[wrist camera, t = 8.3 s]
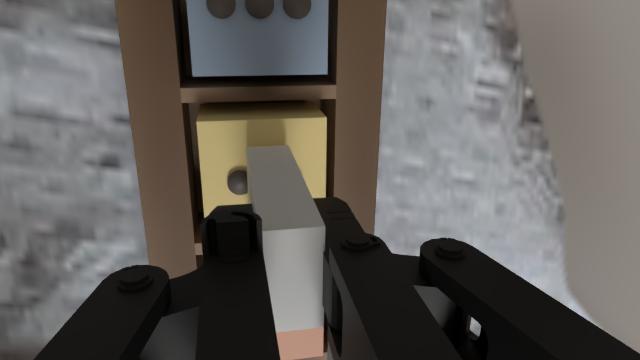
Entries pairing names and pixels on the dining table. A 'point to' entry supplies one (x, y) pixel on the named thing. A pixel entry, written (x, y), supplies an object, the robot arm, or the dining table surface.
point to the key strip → (189, 92)
